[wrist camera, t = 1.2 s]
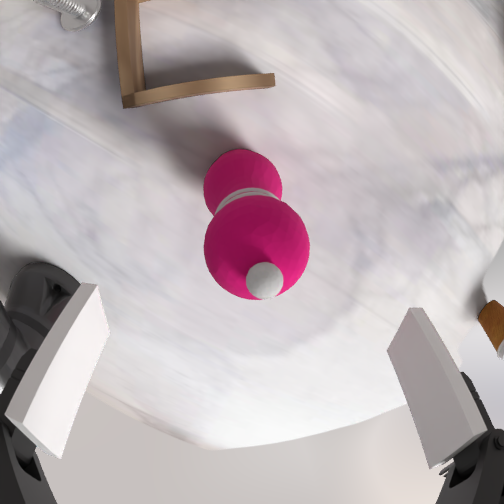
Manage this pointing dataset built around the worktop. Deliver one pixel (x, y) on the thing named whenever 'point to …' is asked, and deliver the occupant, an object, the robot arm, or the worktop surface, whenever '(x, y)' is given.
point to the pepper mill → (252, 228)
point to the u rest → (139, 96)
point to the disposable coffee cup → (494, 325)
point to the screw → (74, 12)
